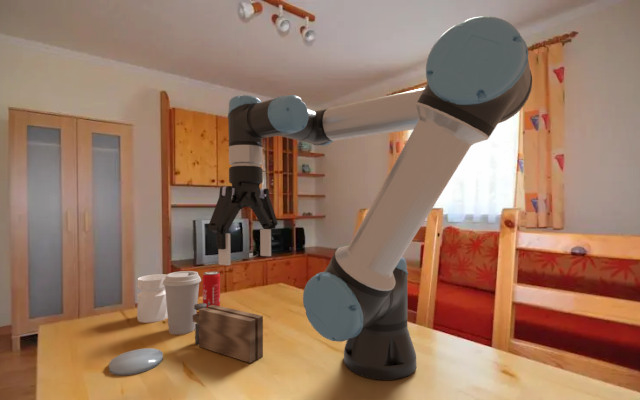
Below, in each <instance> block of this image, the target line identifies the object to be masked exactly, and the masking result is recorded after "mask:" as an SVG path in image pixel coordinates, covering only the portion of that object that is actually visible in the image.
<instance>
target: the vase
mask: <svg viewBox="0 0 640 400" xmlns="http://www.w3.org/2000/svg"><path fill="white" fill-rule="evenodd" d="M167 274H168V273H167ZM167 274H162V273H157V274H155V273H154V274H149V275H146V274H145V275H143V276H140V277H138V278H137V285H136V286H137V287H136V288H137V289H139V290H140V292H139V293H137V294H136V297H137V308H136V316H137V317H136V318H137V321H138V322H140V323H143V324H144V323H147V324H149V323H156V322H160V321H164V320H166V319H168V314H167V303H166V293H165V285H163V281H164V279H165V278H166V275H167Z"/></svg>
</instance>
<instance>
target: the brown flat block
mask: <svg viewBox="0 0 640 400" xmlns="http://www.w3.org/2000/svg"><path fill="white" fill-rule="evenodd" d="M202 308H207V304H206V303H203V302H201V303H199V302H198V303H197V304H196V305H194V309H195V310H197V311H199V309H202ZM208 308H209V309H213V310H217V311H222V312H226V313H230V314H235V315H239V316H243V317H248V318H252V319H255V360H260V359H262V358H264V329H263V328H264V315H260V314H257V313H256V314H255V313H251V312H247V311H241V310H239V309H233V308H229V307H225V306H221V305H220V306H216V305H211V306H208ZM194 336H195V339H194V343H195V345H198V346H199V323H196V324H195V330H194Z"/></svg>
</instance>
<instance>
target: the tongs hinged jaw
mask: <svg viewBox="0 0 640 400" xmlns="http://www.w3.org/2000/svg"><path fill="white" fill-rule="evenodd" d="M193 322H196V323H199V345H198V347H200V348H202V349H205V350H209V351H211V352H215V353H218V354H221V355H224V356H228V357H231V358H234V359H237V360H240V361H243V362H246V363H249V364H250V363H251V364H252V362H254V361H256V359H255V319H252V318H248V317H243V316H239V315H235V314H230V313H226V312H222V311H217V310H213V309H209V308H202V309H199V310H198V313H197V314H194V315H193Z"/></svg>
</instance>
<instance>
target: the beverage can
mask: <svg viewBox="0 0 640 400" xmlns="http://www.w3.org/2000/svg"><path fill="white" fill-rule="evenodd" d="M202 303H206V304H207V308H208V306H211V305H216V306H221V273H220V271H216V270H214V271H213V270H212V271H206V272H203V275H202Z"/></svg>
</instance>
